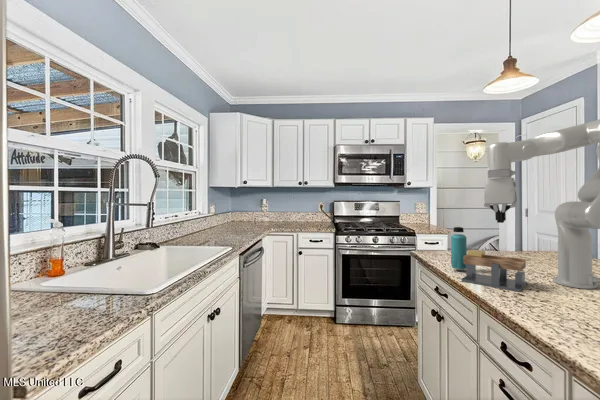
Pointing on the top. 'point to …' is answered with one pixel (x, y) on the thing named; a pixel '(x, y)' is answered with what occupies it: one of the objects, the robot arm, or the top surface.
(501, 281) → the beam stand
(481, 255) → the brass block
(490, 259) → the beam
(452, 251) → the beverage bottle
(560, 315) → the top surface
